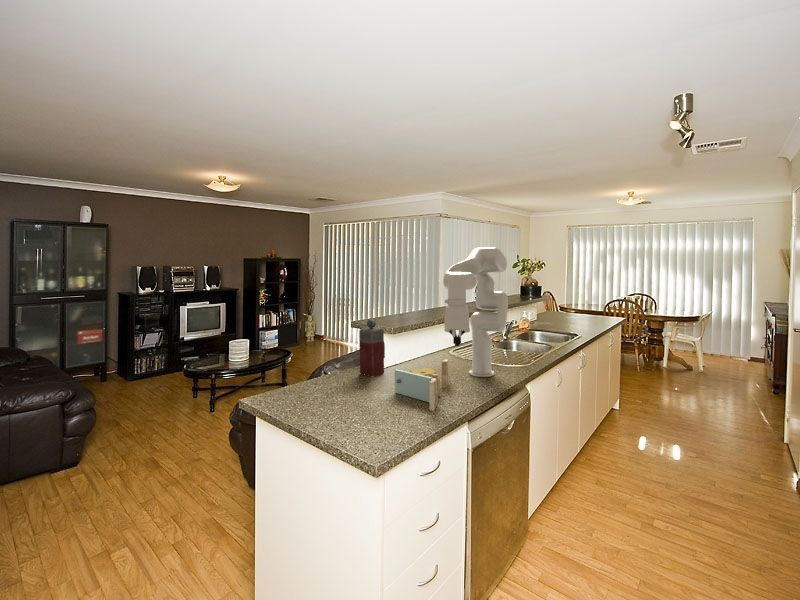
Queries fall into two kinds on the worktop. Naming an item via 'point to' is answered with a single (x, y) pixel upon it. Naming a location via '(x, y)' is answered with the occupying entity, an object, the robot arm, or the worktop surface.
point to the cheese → (429, 373)
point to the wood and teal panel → (435, 384)
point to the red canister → (371, 349)
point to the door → (412, 385)
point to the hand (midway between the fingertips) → (457, 345)
